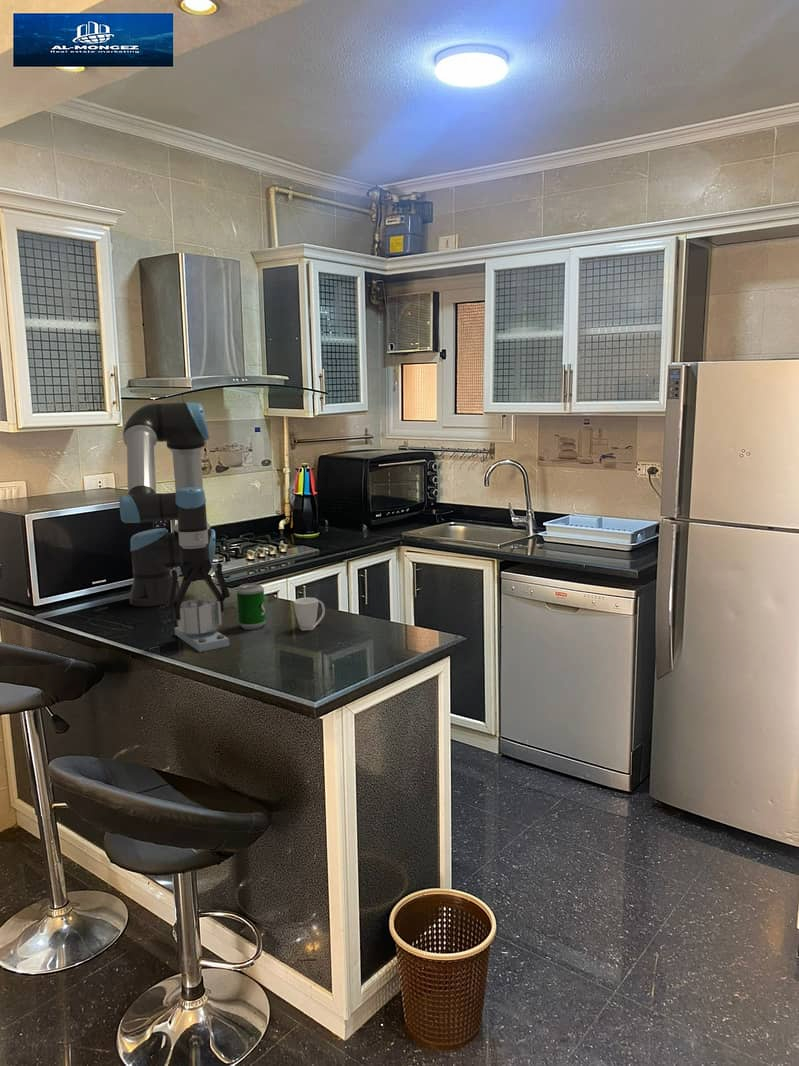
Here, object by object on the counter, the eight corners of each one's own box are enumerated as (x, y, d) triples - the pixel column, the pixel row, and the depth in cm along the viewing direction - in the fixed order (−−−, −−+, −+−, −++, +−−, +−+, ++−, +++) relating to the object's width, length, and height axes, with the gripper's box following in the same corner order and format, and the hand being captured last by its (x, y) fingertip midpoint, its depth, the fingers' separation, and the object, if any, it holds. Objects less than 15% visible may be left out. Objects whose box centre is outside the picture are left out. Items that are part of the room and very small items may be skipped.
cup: (289, 629, 220) (287, 601, 219) (316, 621, 228) (315, 594, 226) (305, 633, 216) (304, 604, 214) (333, 625, 223) (331, 597, 221)
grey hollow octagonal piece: (177, 627, 214) (175, 602, 213) (211, 621, 219) (209, 596, 218) (189, 635, 206) (187, 609, 205) (223, 629, 211) (221, 603, 210)
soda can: (260, 630, 220) (257, 588, 218) (235, 629, 222) (232, 588, 220) (269, 623, 227) (267, 582, 225) (245, 622, 229) (242, 582, 227)
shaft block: (175, 634, 219) (172, 603, 217) (202, 629, 223) (200, 598, 222) (199, 652, 202) (197, 618, 201) (229, 645, 207) (227, 612, 205)
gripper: (156, 553, 199) (163, 638, 203) (239, 542, 211) (244, 622, 215) (148, 549, 206) (155, 632, 209) (228, 539, 218) (234, 617, 221)
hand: (200, 627), depth 212 cm, fingers closed on grey hollow octagonal piece, 9 cm apart
